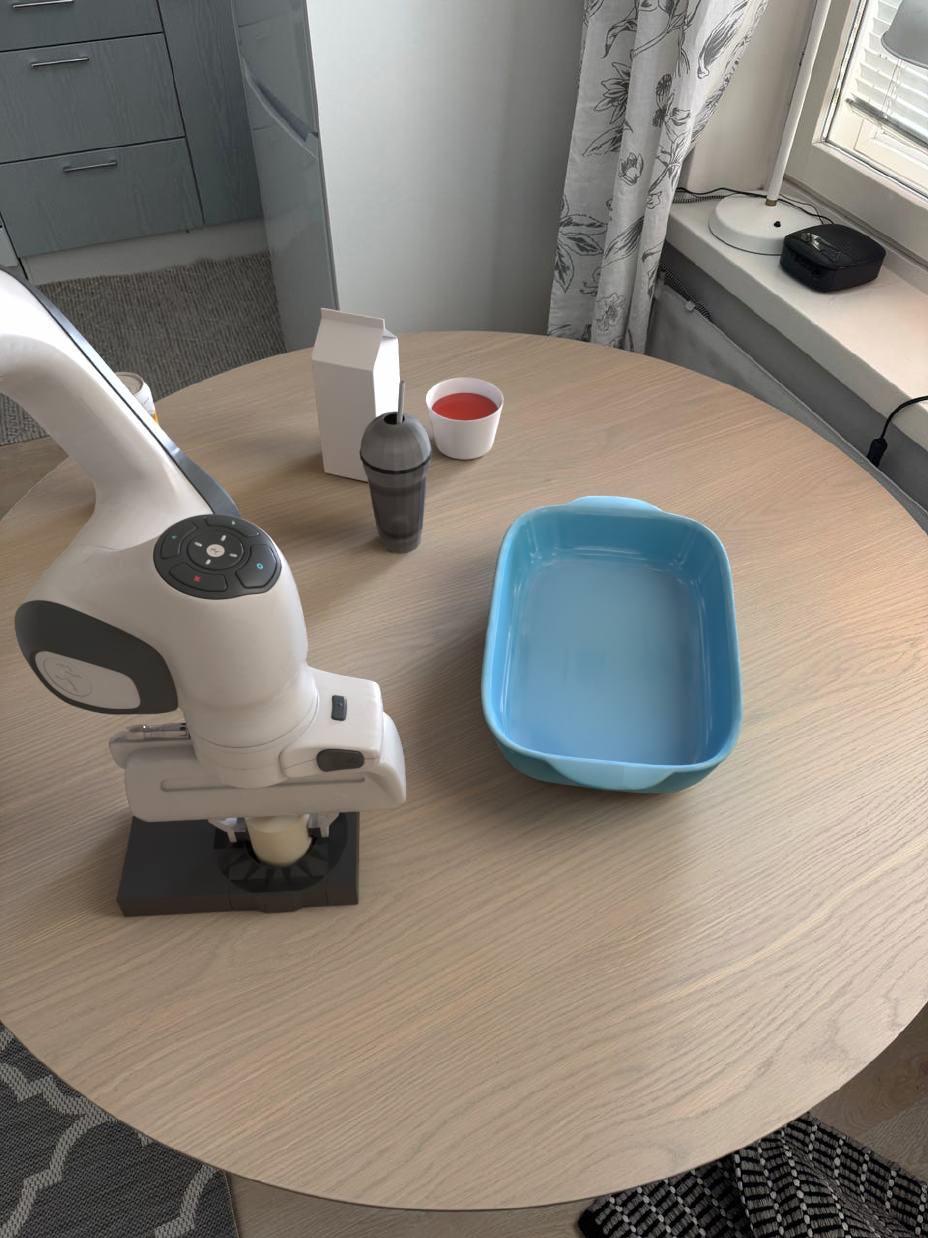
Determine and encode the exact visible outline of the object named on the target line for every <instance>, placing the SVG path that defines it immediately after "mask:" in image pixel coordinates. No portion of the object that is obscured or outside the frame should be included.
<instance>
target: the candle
mask: <svg viewBox="0 0 928 1238" xmlns="http://www.w3.org/2000/svg"><path fill="white" fill-rule="evenodd" d="M425 404H426V409H427V412H428V417H429V421H430V426H431V430H432V434H433V439H434V443H435V445H436V447H437V449H438V451H439V452H440V453H442V454H444V455H445V456H446V457H449V458H451V459H456V460H473V459H477V458H480V457H483V456H484V455H486V454H488V453H489V451H491V449H492V448H493V445H494V442H495V438H496V434H497V430H498V427H499V422H500V418H501V414H502V410H503V406H504V395H503V392H502V391H501V390H500V389H499V388H498V387H497V386H496V385H494V384H493V383H491V382H489V381H486V380H483V379H479V378H476V377H454V378H449V379H445V380H443V381H440V382H438V383H436V384H435V385H433V386H432V387H431V388H430V389H429V390H428V391H427V393H426V396H425Z"/></svg>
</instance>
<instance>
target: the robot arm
mask: <svg viewBox="0 0 928 1238" xmlns="http://www.w3.org/2000/svg"><path fill="white" fill-rule="evenodd" d="M59 309H60V308H58V307H57V306H56V305H55V304H54V303H53V301H51V300H50V299H49V297H47V296H46V295H45V294H44V293H43V292H42V291H41V290H40V289H39V288H38V287H37V286H35V285H34V284H33V283H32V282H31V281H29V279H27V278H26V277H24V276H23V275H21V274H20V273H18V272H17V271H15V270H14V269H12V268H11V267H8V266H6V265H5V264H4V265H3V264H1V263H0V393H1V394H3V395H4V396H6V397H8V398H9V399H11V400H12V401H14V402H15V403H16V404H18V405H19V406H20V407H21V408H23V410H24V411H25V412H26V413H27V414H28V415H29V416H30V417H31V418H32V420H34V422H36V423H37V424H38V425H39V426H40V427H41V429H42V430H44V432H45V433H47V435H49V437H50V438H52V440H53V441H54V442H55V443H56V444H57V445H58V446H59V447H60V448H61V449H62V450H63V451H64V452H65V453H66V454H67V455H68V456H69V457H70V458H71V459H72V460H73V461H74V462H75V464H76V465H77V466H78V467H79V468H80V469H81V470H82V471H83V472H84V473H85V474H86V475H87V477H89V479H90V480H91V482H92V483H93V486H94V490H95V491H94V493H95V505H94V510H93V513H92V515H91V516H90V518H89V519H88V520H87V522H86V523H85V524H84V525H83V526H82V528H81V529H80V530H79V531H78V533H77V534H76V535H75V536H74V538H73V539H72V540H71V542H70V543H69V544H68V546H67V547H66V548H65V549H64V550H63V552H61V553H60V554H58V556H56V558H55V560H53V562H52V563H51V564H50V566H48V568H47V569H46V570H45V572H44V573H43V574H42V575H41V576H40V578H39V579H38V581H37V582H36V583H35V585H34V586H33V587H32V588H31V589H30V591H29V593H28V594H27V595H26V597H25V598H24V600H23V601H22V603H21V604H20V606H19V607H17V609H16V611H15V614H14V630H15V637H16V640H17V643H18V646H19V650H20V651H21V654H22V655H23V657H24V659H25V660H26V663H27V664H28V666H29V668H30V669H31V670H32V671H33V673H34V674H35V676H36V677H37V678H38V680H39V681H40V683H41V684H43V686H44V687H45V688H46V689H47V690H48V691H49V692H50V693H51V694H53V696H55V697H56V698H58V699H59V700H61V701H63V702H64V703H66V704H68V705H70V706H72V707H75V708H78V709H81V710H84V711H89V712H91V713H97V714H104V715H113V716H114V715H115V716H123V715H125V716H126V715H159V714H161V715H162V714H168V713H173V712H175V711H177V710H178V709H180V710H181V712H182V715H183V718H184V722H170V723H168V722H167V723H161V724H153V725H147V724H133V725H129V726H126V728H125V730H123V731H120V732H117V733H116V734H114V735H113V736H112V737H111V738H110V739H109V742H108V747H109V751H110V754H111V757H112V759H113V762H114V763H115V764H116V765H117V766H118V767H119V768H121V769H122V770H124V787H125V793H126V794H125V796H126V800H127V803H128V807H129V810H130V812H131V814H132V816H133V815H134V816H136V817H137V818H139V819H141V820H143V821H146V822H163V821H182V820H202V819H208V822H209V823H211V824H213V825H215V826H216V827H218V828H220V829H221V830H223V831H225V832H227V833H228V836H229V839H230V842H239V841H250V836H249V833H248V829H247V825H246V822H245V818H244V817H260V816H280V815H299V814H309V820H308V832H309V837H310V838H314V839H315V838H316V839H317V837H328V836H329V825H330V824H331V823H332V822H333V821H334V820H335V819H336V818H337V817H338V816H339V812H358V811H360V812H374V811H375V812H376V811H393V810H396V809H398V808H399V807H401V806H402V805H403V804H405V802H406V801H407V780H406V779H407V778H406V777H407V775H406V774H407V773H406V761H405V754H404V750H403V746H402V742H401V738H400V735H399V731H398V729H397V726H396V724H395V722H394V721H393V719H392V718H391V717H390V716H389V714H387V713H386V712H384V703H383V697H382V693H381V687H380V685H379V684H378V683H377V682H375V681H373V680H370V679H367V678H366V679H365V678H359V677H354V676H348V675H343V674H338V673H333V672H329V671H325V670H321V669H318V668H315V667H311V666H310V665H309V664H308V662H307V658H308V657H307V656H308V652H309V641H308V633H307V627H306V621H305V617H304V611H303V607H302V602H301V598H300V595H299V591H298V586H297V583H296V580H295V578H294V575H293V573H292V569H291V567H290V565H289V562H288V561H287V559H286V557H285V555H284V554H283V552H282V551H281V549H280V548H279V546H278V545H277V544H276V542H275V541H274V540H273V539H272V537H271V536H270V535H269V534H268V533H267V532H266V531H265V530H263V529H262V528H260V526H259V525H256V523H253V522H251V521H249V520H246V519H244V518H243V517H242V515H241V513H240V511H239V509H238V506H237V505H236V502H235V501H234V499H233V498H232V496H231V495H230V493H229V492H228V491H227V490H226V489H225V487H223V485H222V484H221V483H219V481H218V480H217V479H215V478H214V477H213V476H212V475H211V474H210V473H209V472H207V471H206V470H205V469H203V468H202V467H201V466H199V464H197V463H196V462H195V461H194V460H192V459H191V458H190V457H189V456H188V455H187V454H186V453H185V452H184V451H183V450H182V449H180V447H178V445H176V443H175V442H174V441H173V440H172V439H171V438H170V436H168V434H167V433H166V432H165V431H164V429H162V428H161V426H160V424H159V425H158V424H157V423H156V422H155V421H154V420H153V418H152V417H151V416H150V415H149V414H148V412H147V411H146V410H145V409H144V408H143V407H142V405H141V404H140V403H139V402H138V401H137V400H136V398H135V397H134V396H133V395H132V394H131V392H130V391H129V390H128V389H127V388H126V387H125V385H124V384H123V383H122V382H121V381H120V379H119V378H118V377H117V376H116V375H115V374H114V373H115V372H114V371H113V370H112V369H111V367H110V366H109V365H108V364H107V363H106V362H105V361H104V360H103V358H102V357H101V356H100V355H99V353H97V351H96V350H95V349H94V348H93V346H92V345H91V344H90V343H89V342H88V341H87V339H85V337H84V336H83V335H82V334H81V332H80V331H79V329H77V328H76V327H75V326H74V325H73V324H72V322H70V320H69V319H68V318H67V317H66V315H64V314H63V313H62V312H61V310H59Z"/></svg>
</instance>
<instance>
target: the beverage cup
mask: <svg viewBox="0 0 928 1238" xmlns="http://www.w3.org/2000/svg"><path fill="white" fill-rule="evenodd" d="M405 385H406V381H405V380H401V379H400V382H399V396H398V410H397V411H392V412H386V413H383V414H381V415H379V416H377V417H376V418H374V420H373V421H372V422H371V423H370V424H369V425H368V426H367V428H366V429H365V432H364V434H363V437H362V440H361V448H360V452H359V453H360V459H361V461H362V463H363V467H364V470H365V473H366V475H367V478H368V482H367V483H368V487H369V493H370V498H371V503H372V504H371V505H372V510H373V515H374V521H375V526H376V532H377V534H378V539H379V544H380V545H381V547H382V548H383V549H385V550H386V551H387V552H390V553H393V554H396V553H397V554H403V553H409V552H411V551H414V550H416V549H417V548H418V546H420V544H421V542H422V534H423V529H424V517H425V506H426V505H425V504H426V503H425V502H426V492H427V491H426V490H427V478H428V472H429V468H430V464H431V458H432V455H433V448H432V445H431V442H430V438H429V434H428V432H427V430H426V428H425V426H424V425H423V424H422V423H421V422H420V421H419V420H418V419H417V418H416V417H414V416H412V415H411V414H409V413H407V412H404V401H405Z"/></svg>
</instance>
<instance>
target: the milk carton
mask: <svg viewBox="0 0 928 1238" xmlns="http://www.w3.org/2000/svg"><path fill="white" fill-rule="evenodd" d="M320 315H321V318H320V323H319V326H318V329H317V334H316V338H315V342H314V345H313V349H312V353H311V356H310V360H311V368H312V369H311V371H312V377H313V386H314V396H315V404H316V412H317V421H318V429H319V438H320V447H321V455H322V463H323V471H324V472H325V473H326V474H330V475H334V476H338V477H339V476H340V477H343V478H349V479H354V480H358V481H363V482H367V483H368V478H367V475H366V473H365V470H364V467H363V463H362V461H361V459H360V453H359V452H360V448H361V440H362V437H363V434H364V432H365V429H366V428H367V426H368V425H369V424H370V423H371V422H372V421H373V420H374V418H376V417H377V416H379V415H381V414H383V413H386V412H392V411H397V410H398V396H399V382H400V381H401V379H400V358H399V356H400V355H399V341H398V337H397V336H396V335H395V334H393V333H392V332H391V331H389V330H388V329H386V328H385V327H386V326H385V319H384V318H381V317H375V316H372V315H371V316H370V315H364V314H359V313H354V312H348V311H342V310H336V309H331V308H326V307H321V308H320Z"/></svg>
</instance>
